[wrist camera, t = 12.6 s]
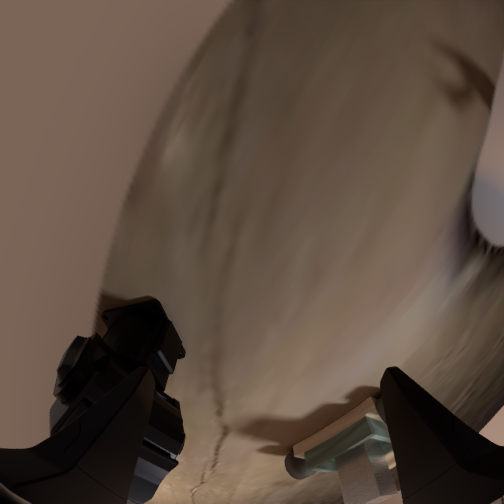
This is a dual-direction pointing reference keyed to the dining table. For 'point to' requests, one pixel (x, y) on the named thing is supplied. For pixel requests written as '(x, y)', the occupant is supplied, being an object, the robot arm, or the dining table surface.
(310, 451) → the chassis
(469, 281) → the dining table surface
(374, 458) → the block
